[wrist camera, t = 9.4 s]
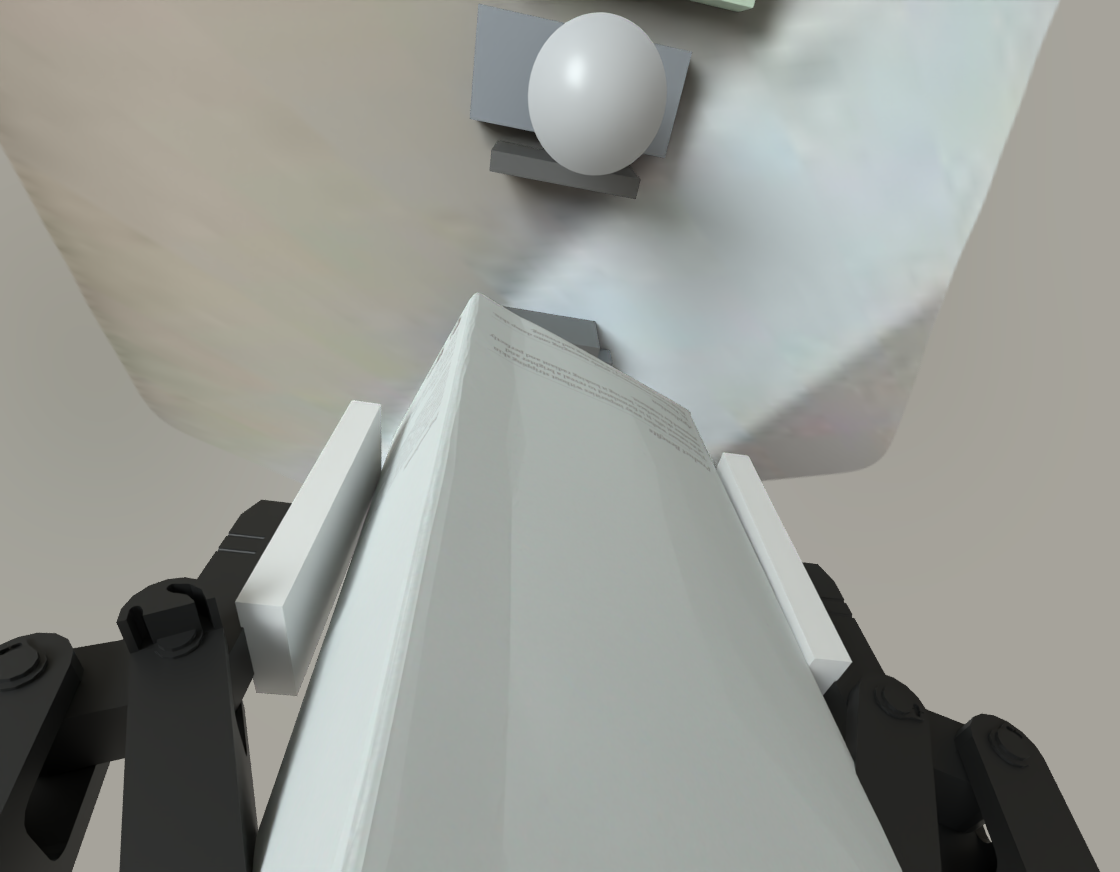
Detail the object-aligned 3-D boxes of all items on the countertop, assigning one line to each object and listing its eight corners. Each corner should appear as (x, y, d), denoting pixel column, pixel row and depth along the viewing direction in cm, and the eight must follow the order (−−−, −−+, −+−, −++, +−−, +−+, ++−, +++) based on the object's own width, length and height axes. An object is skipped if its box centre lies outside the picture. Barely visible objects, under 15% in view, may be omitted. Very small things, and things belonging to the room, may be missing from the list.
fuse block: (452, 387, 41) (406, 540, 28) (482, 7, 29) (425, -43, 15) (594, 408, 43) (615, 563, 29) (684, 52, 30) (791, 42, 17)
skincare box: (396, 427, 18) (71, 1199, 6) (481, 273, 15) (194, 1151, 3) (605, 524, 21) (684, 1200, 8) (711, 408, 18) (1064, 1173, 6)
